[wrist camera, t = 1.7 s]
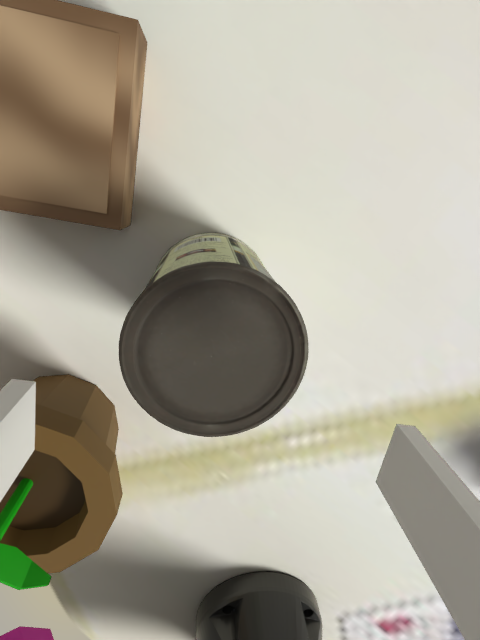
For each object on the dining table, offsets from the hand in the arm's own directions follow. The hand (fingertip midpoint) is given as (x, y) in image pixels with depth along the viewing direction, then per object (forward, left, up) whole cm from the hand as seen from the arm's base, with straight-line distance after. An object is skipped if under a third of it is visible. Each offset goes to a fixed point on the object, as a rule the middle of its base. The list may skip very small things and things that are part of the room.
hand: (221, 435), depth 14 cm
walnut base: (+11, +14, -21) cm, 28 cm away
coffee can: (0, 0, -22) cm, 22 cm away
